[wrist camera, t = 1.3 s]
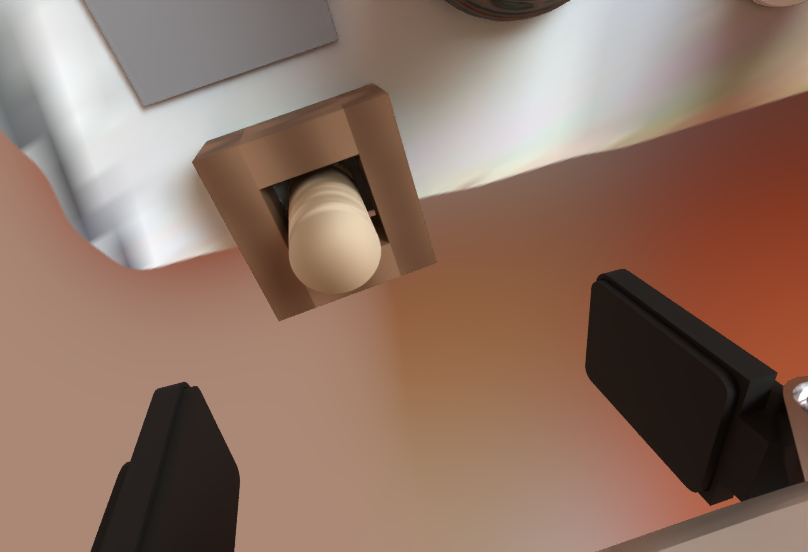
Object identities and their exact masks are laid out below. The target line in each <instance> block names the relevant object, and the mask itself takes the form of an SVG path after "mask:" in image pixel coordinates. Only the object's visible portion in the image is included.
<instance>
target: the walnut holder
mask: <svg viewBox="0 0 808 552" xmlns="http://www.w3.org/2000/svg"><path fill="white" fill-rule="evenodd" d="M355 155H356V158H357V161H358V164H359V167H360V169H361V172H362V175H363V178H364V181H365V184H366V187H367V190H368V192H369V195H370V198H371V201H372V204H373V207H374V210H375V213H376V215H375V216H372V217H370V219H371V221H372V224H373V226H374V228H375V231H376V233H377V235H378V238H379V241H380V245H381V257H380V262H379V265H378V267H377V269H376V271H375V272H374V274H373V275H372V277H371V278H370V279H369V280H368V281H367V282H366V283H364V284H363V285H362V286H360V287H358V288H356V289H354V290H352V291H349V292H346V293H340V294H327V293H322V292H318V291H315V290H313V289H311V288H309V287H307V286H306V285H305V284H303V283H302V282H301V281H300V280H299V279H298V278H297V276H296V275H295V273H294V272H293V270H292V267H291V265H290V261H289V220H288V218H287V216H286V214H285V212H284V210H283V207H282V205H281V203H280V201H279V199H278V197H277V194H276V192H275V190H274V188H273V186H272V185H273V184H276V183H279V182H282V181H285V180H288V179H290V178H293V177H296V176H299V175H302V174H304V173H307V172H310V171H313V170H316V169H318V168H321V167H324V166H327V165H330V164H332V163H335V162H338V161H341V160H344V159H346V158H349V157H352V156H355ZM192 163H193V165H194V167H195V168H196V170H197V172H198V174H199V176H200V178H201V179H202V181H203V183H204V185H205V187H206V189H207V190H208V192H209V194H210V196H211V198H212V200H213V201H214V203H215V205H216V207H217V209H218V211H219V212H220V214H221V216H222V218H223V220H224V222H225V223H226V225H227V227H228V229H229V231H230V233H231V234H232V236H233V238H234V240H235V242H236V243H237V245H238V247H239V249H240V251H241V253H242V254H243V256H244V258H245V260H246V262H247V264H248V265H249V267H250V269H251V271H252V273H253V275H254V276H255V278H256V280H257V282H258V284H259V286H260V287H261V289H262V291H263V293H264V295H265V297H266V298H267V300H268V302H269V304H270V306H271V307H272V309H273V311H274V313H275V315H276V317H277V319H278V320H279V321H281V320H284V319H286V318H289V317H292V316H295V315H297V314H300V313H303V312H305V311H308V310H310V309H313V308H316V307H319V306H322V305H324V304H327V303H329V302H332V301H335V300H337V299H340V298H343V297H346V296H348V295H351V294H354V293H357V292H359V291H362V290H365V289H367V288H370V287H373V286H375V285H378V284H381V283H383V282H386V281H389V280H392V279H394V278H397V277H400V276H402V275H405V274H408V273H410V272H413V271H416V270H418V269H421V268H424V267H427V266H429V265H432V264H435V263H436V258H435V255H434V251H433V248H432V244H431V241H430V237H429V234H428V230H427V227H426V224H425V220H424V217H423V213H422V210H421V206H420V203H419V199H418V196H417V192H416V189H415V185H414V182H413V178H412V175H411V172H410V168H409V165H408V161H407V158H406V154H405V151H404V147H403V144H402V140H401V137H400V133H399V130H398V127H397V123H396V120H395V116H394V113H393V109H392V106H391V102H390V99H389V95H388V93H387V92H385V91H384V90H382V89H381V88H379V87H378V86H376V85H375V84H370V85H367V86H364V87H361V88H359V89H356V90H353V91H350V92H347V93H344V94H341V95H339V96H336V97H333V98H330V99H327V100H324V101H321V102H318V103H316V104H313V105H310V106H307V107H304V108H301V109H298V110H296V111H293V112H290V113H287V114H284V115H281V116H278V117H275V118H273V119H270V120H267V121H264V122H261V123H258V124H255V125H253V126H250V127H247V128H244V129H241V130H238V131H235V132H232V133H230V134H227V135H224V136H221V137H218V138H215V139H212V140H209V141H207V142H206V143H205V145H204V146H203V147H202V149H201V150H200V152H199V153H198V154H197V156H196V157H195V159H194V160H193V162H192Z"/></svg>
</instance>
